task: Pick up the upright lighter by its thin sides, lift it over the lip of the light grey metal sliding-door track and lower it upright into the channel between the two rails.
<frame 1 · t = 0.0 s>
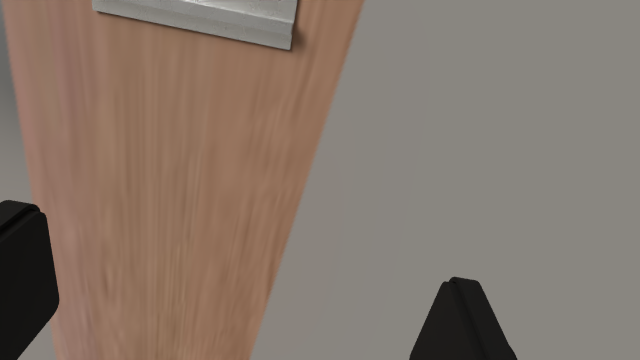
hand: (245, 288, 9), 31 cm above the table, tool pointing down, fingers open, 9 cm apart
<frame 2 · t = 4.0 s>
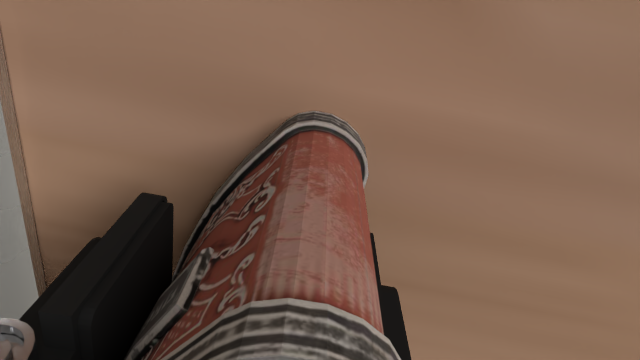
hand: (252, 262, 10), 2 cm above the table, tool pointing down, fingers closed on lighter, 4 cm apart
lighter: (265, 218, 12), on the table, touching gripper
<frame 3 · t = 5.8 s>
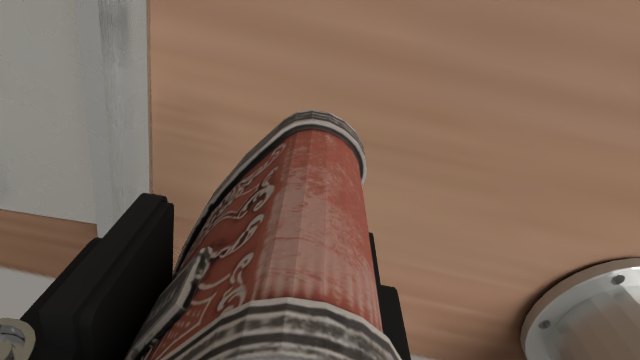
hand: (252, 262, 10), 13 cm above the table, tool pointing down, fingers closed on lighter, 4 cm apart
track: (35, 73, 21), on the table
lighter: (263, 217, 12), point 11 cm above the table, touching gripper
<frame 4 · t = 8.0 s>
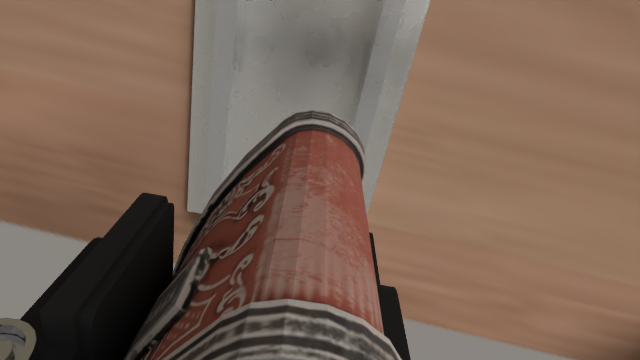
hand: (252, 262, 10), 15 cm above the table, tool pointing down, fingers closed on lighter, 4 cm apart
track: (295, 99, 23), on the table
lighter: (263, 218, 12), point 13 cm above the table, touching gripper
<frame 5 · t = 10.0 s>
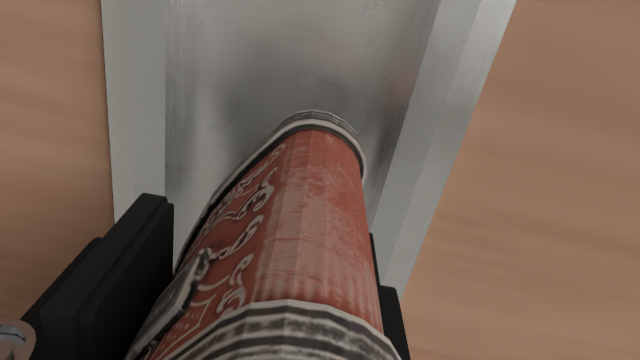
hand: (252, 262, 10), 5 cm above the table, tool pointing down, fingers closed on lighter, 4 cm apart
track: (278, 176, 15), on the table
lighter: (263, 218, 12), point 3 cm above the table, touching gripper
when the fingers open (2 cm above the table, at t = 11.9 s): lighter stays where it is, resting on track.
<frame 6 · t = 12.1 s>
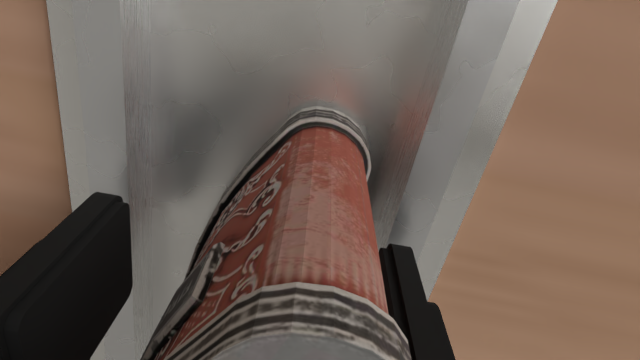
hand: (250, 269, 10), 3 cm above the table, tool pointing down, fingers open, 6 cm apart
track: (266, 209, 13), on the table
lighter: (273, 215, 12), resting on track
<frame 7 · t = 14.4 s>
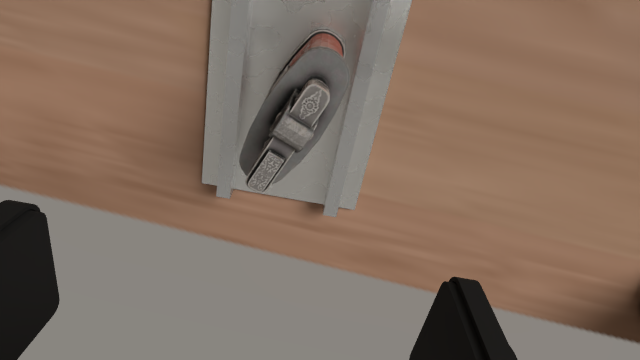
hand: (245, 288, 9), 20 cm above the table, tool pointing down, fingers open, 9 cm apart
track: (298, 81, 27), on the table
lighter: (301, 84, 27), resting on track
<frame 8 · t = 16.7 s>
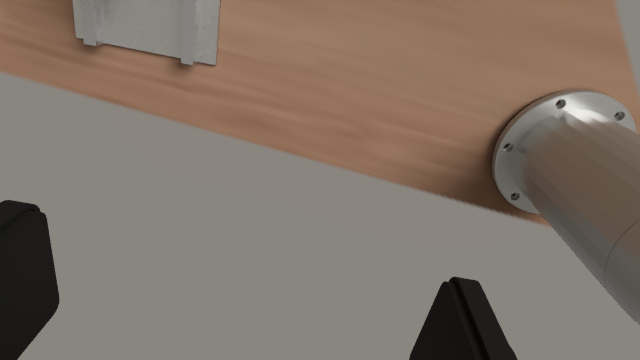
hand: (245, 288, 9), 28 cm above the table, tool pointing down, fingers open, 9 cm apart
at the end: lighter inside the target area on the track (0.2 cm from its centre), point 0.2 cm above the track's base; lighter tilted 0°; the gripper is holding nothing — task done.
